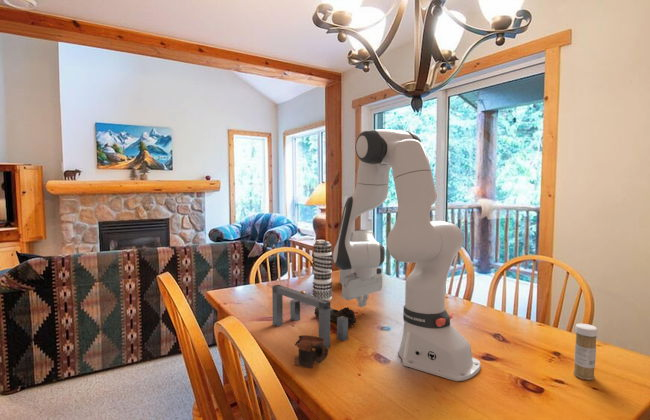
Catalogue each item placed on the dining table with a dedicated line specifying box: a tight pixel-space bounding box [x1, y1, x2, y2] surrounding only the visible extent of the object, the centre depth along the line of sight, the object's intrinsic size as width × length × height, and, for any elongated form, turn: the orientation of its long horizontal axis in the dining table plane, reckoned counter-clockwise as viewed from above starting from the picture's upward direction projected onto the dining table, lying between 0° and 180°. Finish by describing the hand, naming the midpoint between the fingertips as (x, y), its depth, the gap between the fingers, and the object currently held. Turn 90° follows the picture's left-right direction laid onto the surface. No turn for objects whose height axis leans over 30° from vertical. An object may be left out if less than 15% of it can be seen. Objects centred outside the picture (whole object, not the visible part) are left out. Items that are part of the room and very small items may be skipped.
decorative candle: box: [311, 240, 334, 301], centre depth 161 cm, size 9×9×25 cm
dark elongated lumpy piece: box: [313, 306, 357, 327], centre depth 135 cm, size 18×7×6 cm, turn 45°
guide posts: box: [289, 299, 349, 342], centre depth 127 cm, size 26×2×7 cm, turn 44°
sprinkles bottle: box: [573, 323, 598, 381], centre depth 96 cm, size 5×5×14 cm
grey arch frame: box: [271, 284, 331, 349], centre depth 122 cm, size 26×3×14 cm, turn 44°
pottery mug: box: [293, 334, 329, 369], centre depth 104 cm, size 12×10×8 cm
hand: (362, 306), depth 143 cm, fingers closed
